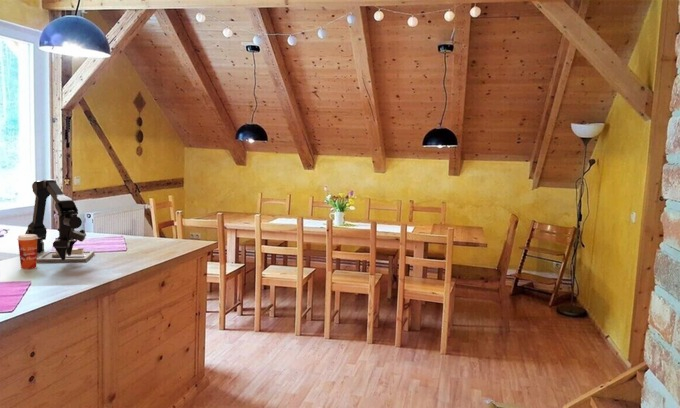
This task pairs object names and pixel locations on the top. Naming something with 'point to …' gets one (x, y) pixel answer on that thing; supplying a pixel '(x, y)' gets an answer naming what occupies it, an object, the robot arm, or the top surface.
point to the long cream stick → (74, 252)
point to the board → (73, 258)
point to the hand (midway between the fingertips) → (66, 257)
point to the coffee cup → (28, 250)
